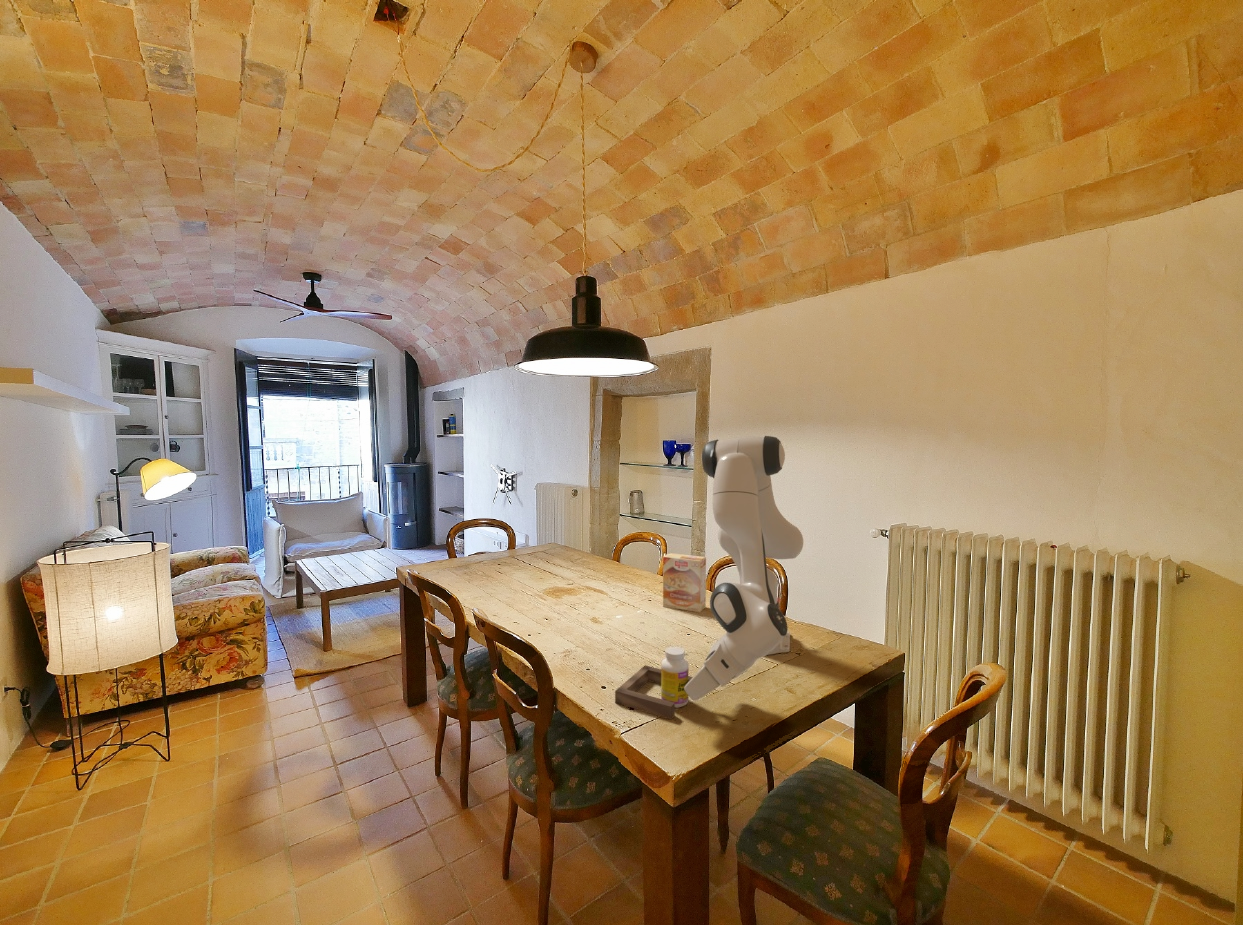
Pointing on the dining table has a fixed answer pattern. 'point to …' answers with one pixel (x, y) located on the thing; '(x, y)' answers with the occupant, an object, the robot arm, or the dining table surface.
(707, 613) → the dining table surface
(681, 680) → the supplement bottle
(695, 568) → the coffeecake box
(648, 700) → the bay
